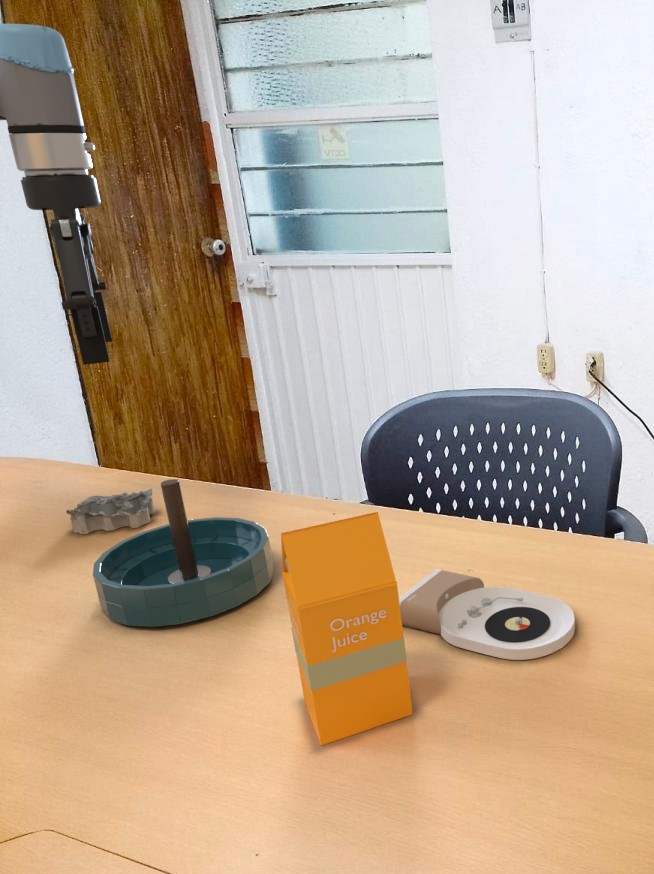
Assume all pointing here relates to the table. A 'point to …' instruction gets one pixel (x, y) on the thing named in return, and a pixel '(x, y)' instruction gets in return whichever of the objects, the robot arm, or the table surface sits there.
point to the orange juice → (346, 626)
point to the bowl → (156, 559)
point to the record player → (487, 616)
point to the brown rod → (181, 535)
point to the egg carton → (112, 512)
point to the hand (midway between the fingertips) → (99, 352)
